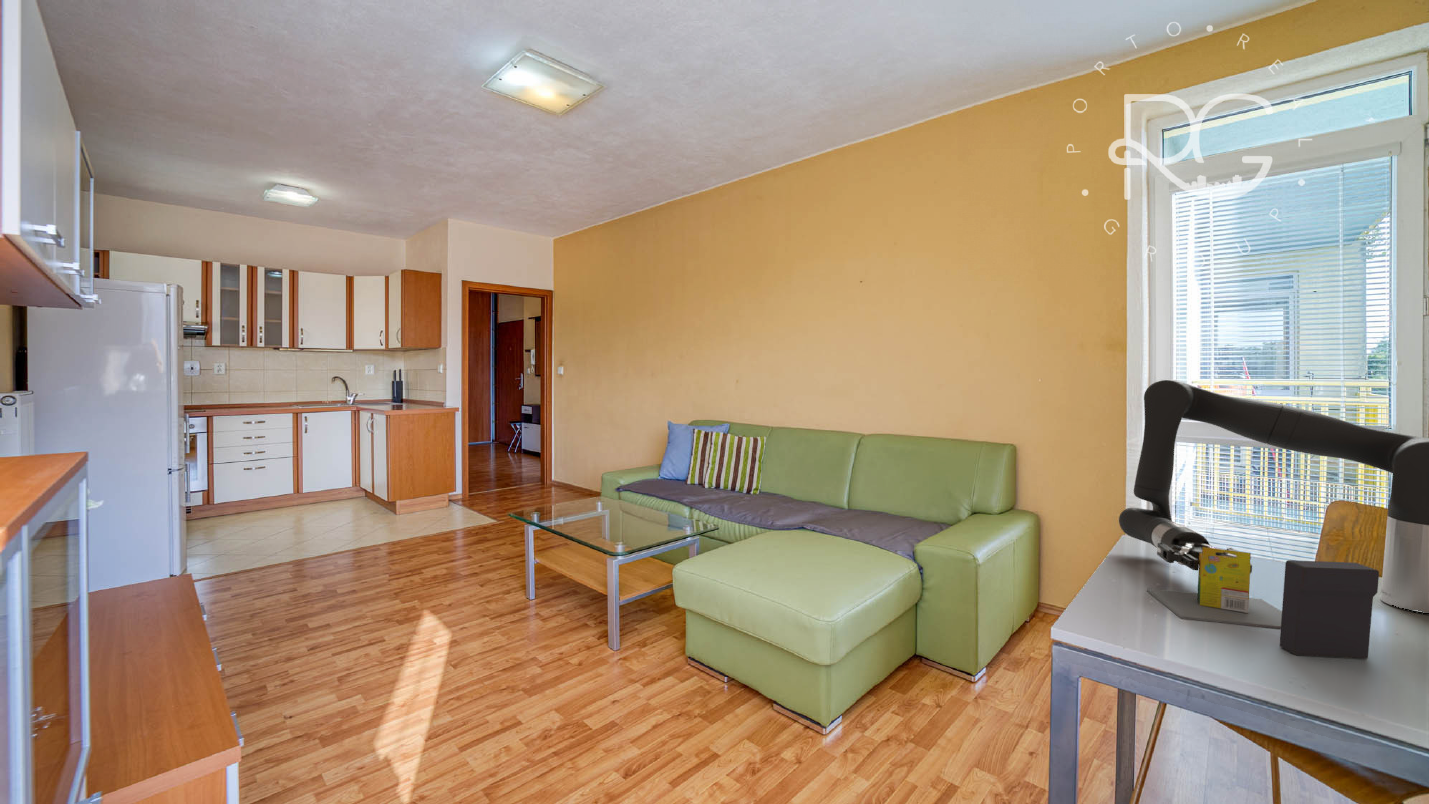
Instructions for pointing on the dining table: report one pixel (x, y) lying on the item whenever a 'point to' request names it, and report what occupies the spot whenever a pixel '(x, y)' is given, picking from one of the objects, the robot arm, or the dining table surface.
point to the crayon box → (1224, 580)
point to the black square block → (1327, 608)
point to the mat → (1218, 610)
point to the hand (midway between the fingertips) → (1222, 567)
